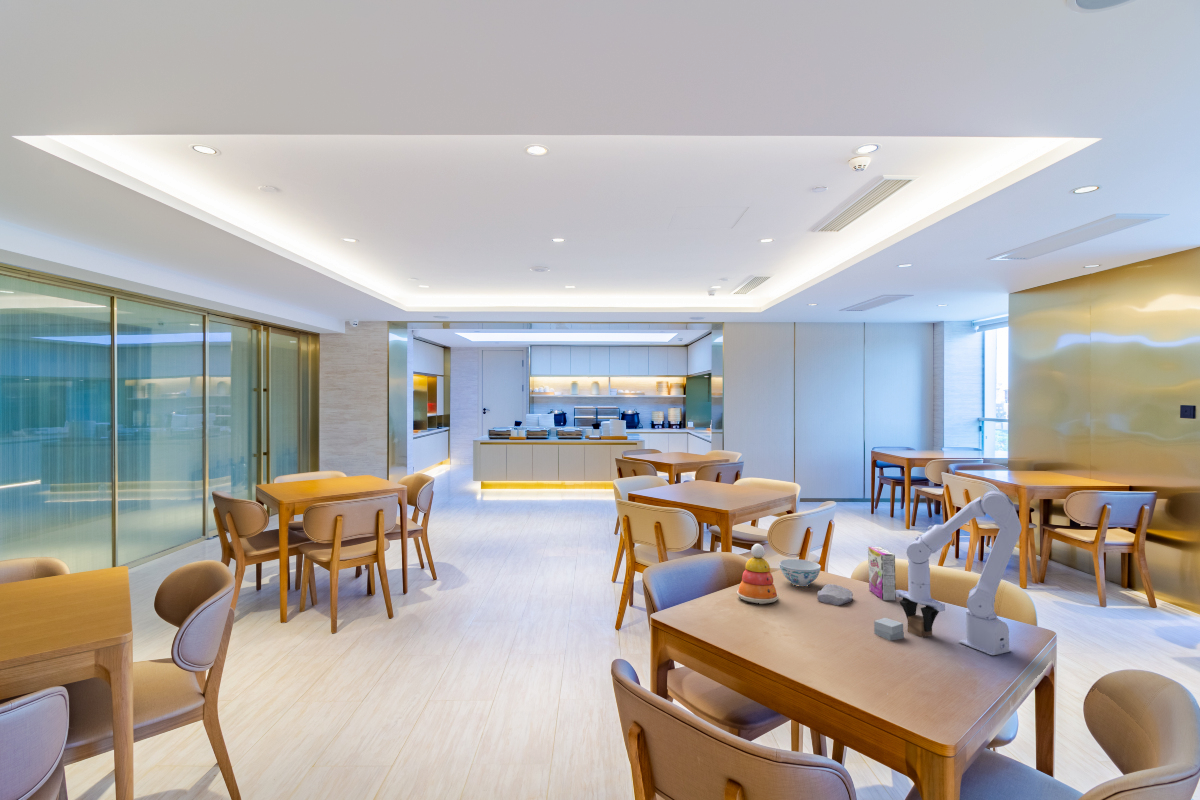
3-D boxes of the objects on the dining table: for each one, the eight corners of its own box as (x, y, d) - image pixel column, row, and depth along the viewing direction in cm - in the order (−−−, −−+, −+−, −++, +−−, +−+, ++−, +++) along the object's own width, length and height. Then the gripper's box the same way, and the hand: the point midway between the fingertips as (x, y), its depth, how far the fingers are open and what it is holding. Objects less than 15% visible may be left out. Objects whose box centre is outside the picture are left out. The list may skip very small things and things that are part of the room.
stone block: (853, 603, 196) (825, 592, 202) (856, 591, 195) (827, 580, 201) (844, 614, 186) (814, 602, 193) (846, 601, 186) (817, 589, 192)
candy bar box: (867, 590, 204) (867, 546, 204) (881, 591, 204) (881, 546, 204) (882, 601, 193) (881, 554, 193) (896, 601, 192) (895, 554, 193)
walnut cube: (932, 635, 163) (931, 619, 163) (921, 637, 161) (921, 621, 161) (918, 629, 167) (918, 614, 167) (907, 631, 165) (907, 616, 165)
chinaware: (771, 580, 216) (771, 560, 217) (803, 577, 221) (803, 557, 221) (795, 592, 202) (795, 571, 202) (829, 588, 207) (829, 567, 207)
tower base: (903, 639, 161) (903, 631, 161) (890, 642, 159) (889, 634, 159) (888, 632, 166) (887, 625, 166) (874, 634, 164) (874, 627, 164)
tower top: (903, 630, 161) (903, 623, 161) (892, 634, 159) (891, 627, 159) (885, 624, 166) (885, 617, 166) (874, 628, 163) (874, 620, 163)
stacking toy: (764, 609, 185) (763, 551, 185) (728, 598, 195) (728, 543, 196) (786, 599, 194) (785, 544, 195) (751, 590, 205) (751, 537, 205)
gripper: (951, 587, 159) (952, 634, 159) (906, 574, 173) (907, 617, 172) (935, 590, 157) (936, 638, 156) (890, 576, 170) (891, 620, 170)
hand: (919, 627), depth 164 cm, fingers closed on walnut cube, 4 cm apart
